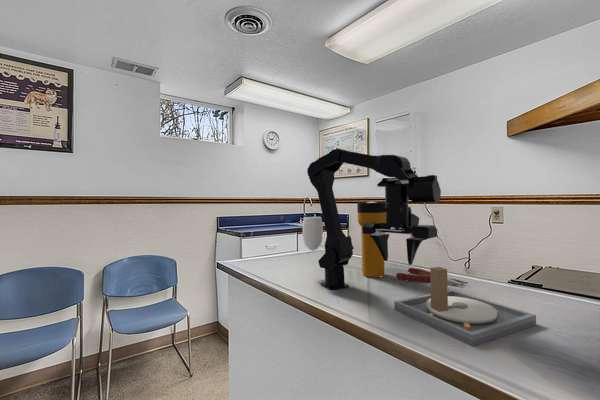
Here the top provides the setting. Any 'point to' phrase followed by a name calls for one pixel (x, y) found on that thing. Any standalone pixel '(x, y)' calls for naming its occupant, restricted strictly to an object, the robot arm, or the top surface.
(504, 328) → the dial board
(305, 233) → the grey rounded cylinder
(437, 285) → the dial
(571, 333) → the top surface
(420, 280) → the pliers
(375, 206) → the flashlight
